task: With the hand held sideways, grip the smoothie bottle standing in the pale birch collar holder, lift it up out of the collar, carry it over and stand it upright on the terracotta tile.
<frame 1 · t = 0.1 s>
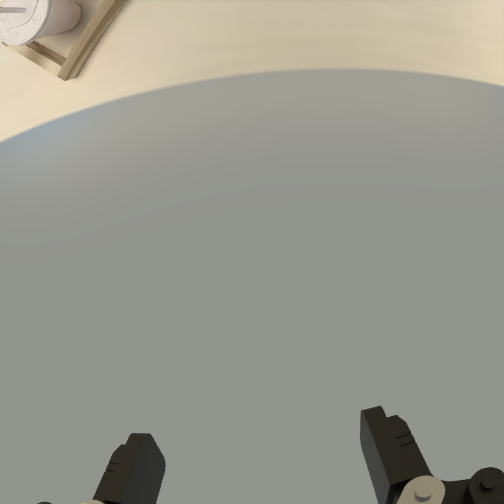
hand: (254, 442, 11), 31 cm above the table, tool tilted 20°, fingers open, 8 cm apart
collar holder: (67, 16, 24), on the table
smoothie: (68, 16, 24), resting in collar holder
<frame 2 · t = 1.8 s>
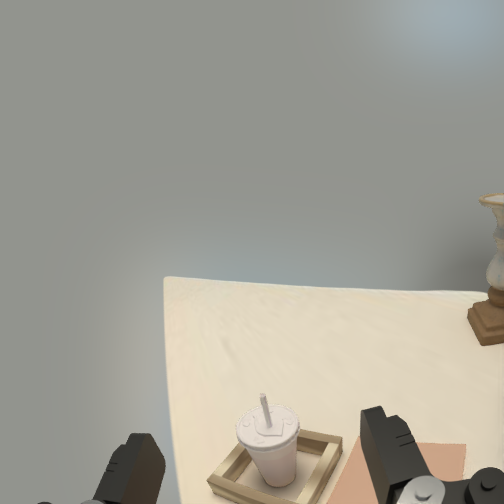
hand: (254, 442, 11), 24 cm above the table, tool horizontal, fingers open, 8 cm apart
collar holder: (279, 475, 31), on the table
smoothie: (280, 476, 31), resting in collar holder
tile: (398, 491, 24), on the table
candle holder: (497, 327, 46), on the table
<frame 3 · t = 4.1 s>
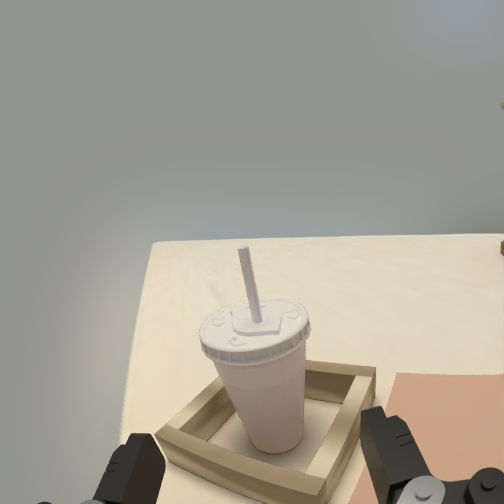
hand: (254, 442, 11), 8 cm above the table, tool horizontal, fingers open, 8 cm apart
collar holder: (277, 434, 21), on the table
smoothie: (277, 436, 21), resting in collar holder
tile: (474, 448, 14), on the table
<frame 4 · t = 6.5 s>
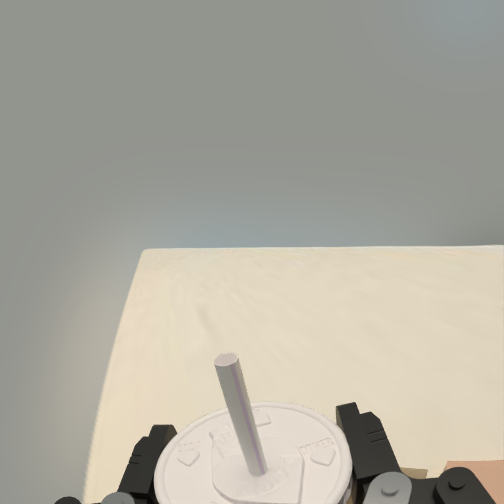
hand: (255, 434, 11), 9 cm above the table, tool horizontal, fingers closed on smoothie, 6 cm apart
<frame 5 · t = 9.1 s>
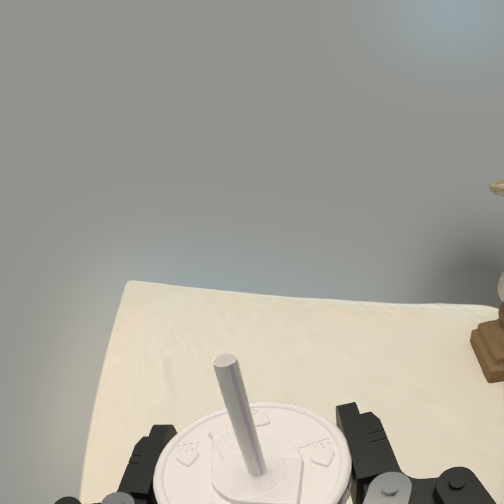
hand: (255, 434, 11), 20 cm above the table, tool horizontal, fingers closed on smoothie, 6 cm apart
when the fingers open (10 cm above the table, at t = 12.2 s): smoothie drops 1 cm, resting on tile.
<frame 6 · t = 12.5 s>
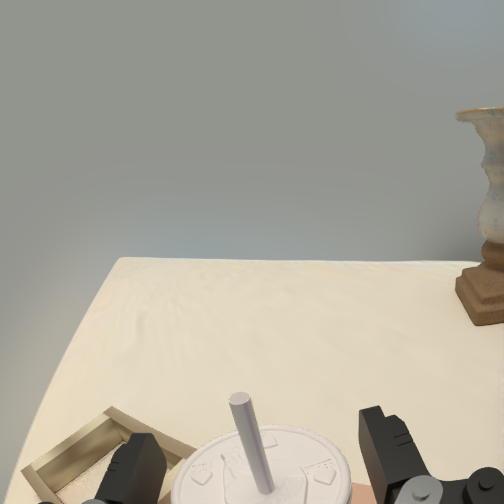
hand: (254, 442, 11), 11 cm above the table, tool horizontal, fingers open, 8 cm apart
collar holder: (119, 491, 18), on the table
candle holder: (498, 302, 33), on the table
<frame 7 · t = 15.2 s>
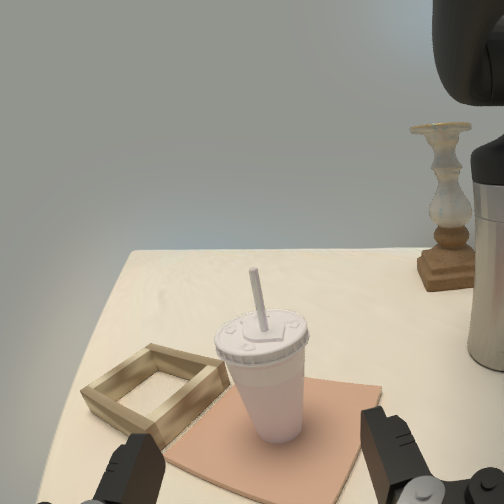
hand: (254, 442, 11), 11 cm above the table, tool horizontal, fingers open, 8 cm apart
collar holder: (157, 400, 31), on the table
smoothie: (280, 429, 24), point 1 cm above the table, touching tile
tile: (279, 432, 24), on the table
candle holder: (451, 276, 46), on the table
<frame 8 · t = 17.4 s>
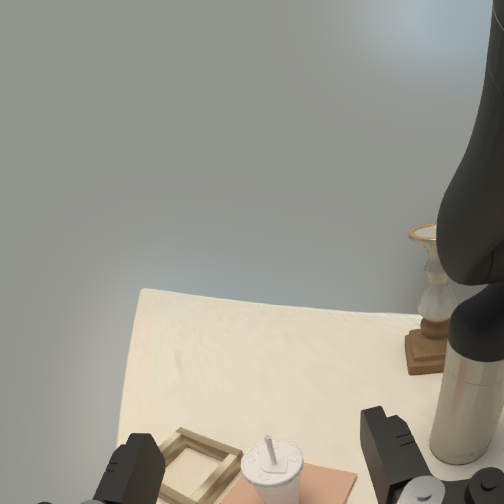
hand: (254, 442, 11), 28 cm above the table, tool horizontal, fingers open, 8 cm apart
collar holder: (191, 475, 37), on the table
smoothie: (283, 503, 30), point 1 cm above the table, touching tile
candle holder: (433, 356, 52), on the table
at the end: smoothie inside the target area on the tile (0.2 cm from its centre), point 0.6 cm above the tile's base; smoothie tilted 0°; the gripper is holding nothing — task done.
